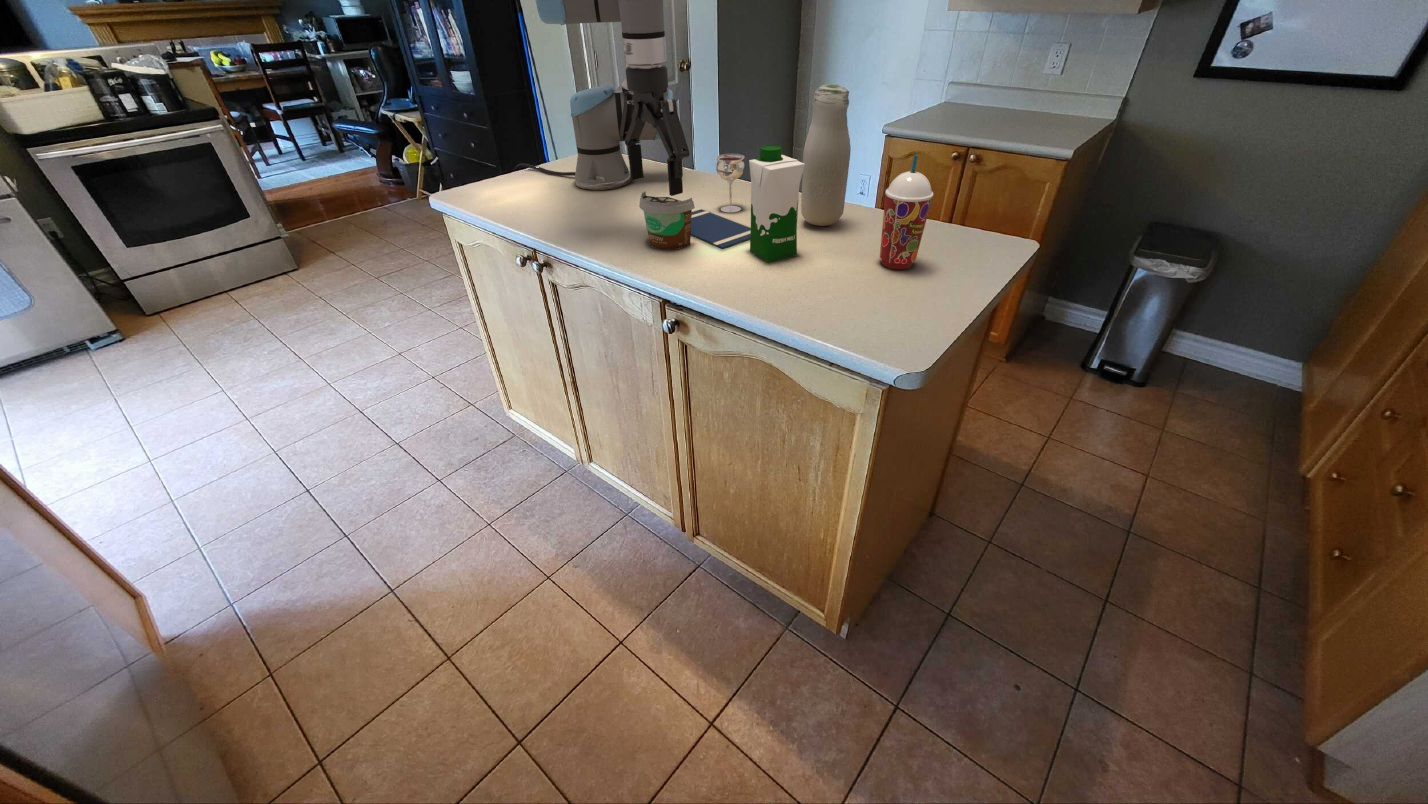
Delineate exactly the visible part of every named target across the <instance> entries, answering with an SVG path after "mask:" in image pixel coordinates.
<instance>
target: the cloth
mask: <svg viewBox="0 0 1428 804" xmlns="http://www.w3.org/2000/svg"><path fill="white" fill-rule="evenodd" d="M750 233H751V227H749V226H747V225H745V224H741V223H738V222H737V221H735V220H734V221H733V220H731V219H729V218H725V217H723V216H720V215H719V214H718V215H717V214H715V213H712V212H710V211H707V210H705V209H702V208H701V209H698V210H694V211H692V216H691V237H694V238H696V239H699V240H701V241H703V242H705V243H708V244H710V245H711V246H714V247H717V248H719V249H721V250H724V249H726V248H730V247H733V246H735V245H738V244H742V243H744V242H747V241H750Z"/></svg>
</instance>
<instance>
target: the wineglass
mask: <svg viewBox="0 0 1428 804" xmlns="http://www.w3.org/2000/svg"><path fill="white" fill-rule="evenodd" d="M715 158H716V161H717V162H716V166H715V169H716V173H717V175H719V176H720V178H721V179H723V180H725V181H726V182H727V183H728V190H729V191H728V193H729V205H725V206H722V207H721V208H720V211H721V212H724V213H737V212H739V211H741V210H742V208H741V207H740V206H737V205H732V203H733V202H732V201H733V199H732V198H733V183H734V182H735V181H736V180H738V179H739V178H741V176H742V175H743V174H744V172H745V168H746V165H745V162H744V160H745V155H743V154H739V153H723V154H719V155H717V156H716V157H715Z"/></svg>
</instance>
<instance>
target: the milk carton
mask: <svg viewBox="0 0 1428 804" xmlns="http://www.w3.org/2000/svg"><path fill="white" fill-rule="evenodd" d="M782 151H783V149H782V147H781V145H775V144H768V145H762V146H760V147H759V157H757V158H754V159H749V160H748V163H749V165H748V166H749V174H750V228H751V233H750V240H749V252H751V253H752V254H753V255H755V256H757V257H759V258H760V259H761V260H762V261H765V262H766V263H767V264H769V263H773V262H776V261H777V262H778V261H781V260H786V259H788V258H789V259H790V258H793V257H797V256H798V243H797V242H798V231H797V230H798V229H797V228H798V215H799V214H798V213H799V200H800V199H799V198H800V185H801V181H802V178H803V177H802V176H803V170H804V166H805V164H804V163H803V162H801V161H799V160H798V159H795V158H793V157H789V156H787V155H784V154H782Z"/></svg>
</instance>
